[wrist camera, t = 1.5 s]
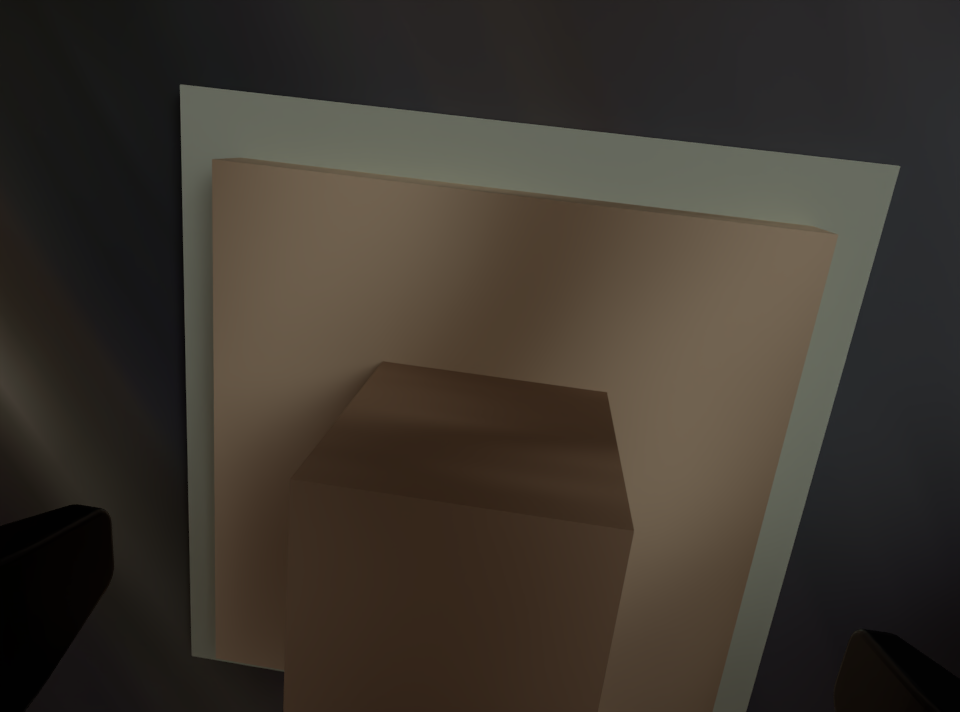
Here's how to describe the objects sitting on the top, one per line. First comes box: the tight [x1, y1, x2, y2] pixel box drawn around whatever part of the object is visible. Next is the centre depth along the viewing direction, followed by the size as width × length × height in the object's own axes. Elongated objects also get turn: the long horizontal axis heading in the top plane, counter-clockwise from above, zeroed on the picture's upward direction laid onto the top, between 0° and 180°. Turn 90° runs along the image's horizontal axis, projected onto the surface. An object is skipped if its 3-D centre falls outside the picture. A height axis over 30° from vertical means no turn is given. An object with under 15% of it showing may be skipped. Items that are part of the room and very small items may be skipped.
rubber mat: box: [180, 85, 900, 712], centre depth 13 cm, size 11×11×1 cm
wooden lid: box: [212, 158, 838, 712], centre depth 10 cm, size 9×9×5 cm
